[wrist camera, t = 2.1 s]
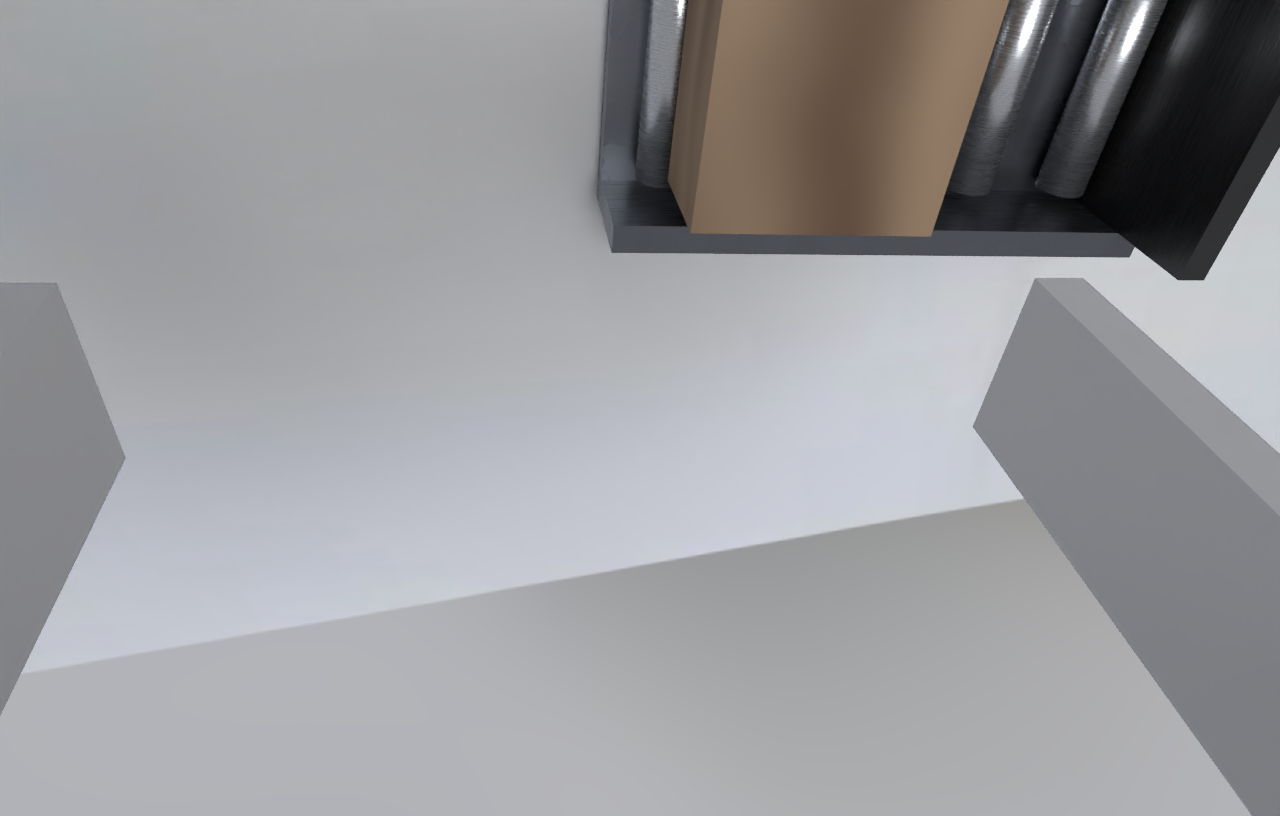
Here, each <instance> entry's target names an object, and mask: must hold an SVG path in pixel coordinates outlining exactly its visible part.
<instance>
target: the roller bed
mask: <svg viewBox="0 0 1280 816" xmlns="http://www.w3.org/2000/svg"><path fill="white" fill-rule="evenodd" d="M687 9H688V0H609V11H608V27H607V44H606V60H605V76H604V92H603V108H602V124H601V140H600V156H599V173H598V189H597V198H598V202H599V206H600V210H601V214H602V218H603V221H604V225H605V229H606V233H607V237H608V241H609V244H610V248H611V252H612V253H715V254H822V255H929V256H1036V257H1130V255H1131V253H1132V251H1133V249H1134V247H1136V248H1137V249H1139V250H1140V251H1141V252H1143V253H1144V254H1145V255H1146V256H1148V257H1149V258H1150V259H1152V260H1153V261H1154V262H1155V263H1157V264H1158V265H1159V266H1161V267H1162V268H1163V269H1164V270H1166V271H1167V272H1168V273H1170V274H1171V275H1172V276H1173V277H1175V278H1176V279H1177V280H1204V279H1205V277H1206V275H1207V274H1208V272H1209V270H1210V268H1211V267H1212V265H1213V263H1214V261H1215V260H1216V258H1217V256H1218V254H1219V252H1220V251H1221V249H1222V247H1223V245H1224V244H1225V242H1226V240H1227V238H1228V237H1229V235H1230V233H1231V231H1232V230H1233V228H1234V226H1235V224H1236V223H1237V221H1238V219H1239V217H1240V216H1241V214H1242V212H1243V210H1244V209H1245V207H1246V205H1247V203H1248V202H1249V200H1250V198H1251V196H1252V195H1253V193H1254V191H1255V189H1256V188H1257V186H1258V184H1259V182H1260V181H1261V179H1262V177H1263V175H1264V174H1265V172H1266V170H1267V168H1268V167H1269V165H1270V163H1271V161H1272V160H1273V158H1274V156H1275V154H1276V153H1277V151H1278V149H1279V147H1280V0H1009V3H1008V6H1007V9H1006V12H1005V15H1004V18H1003V21H1002V24H1001V27H1000V30H999V33H998V36H997V39H996V42H995V45H994V48H993V51H992V54H991V57H990V60H989V63H988V66H987V69H986V72H985V75H984V78H983V81H982V84H981V87H980V90H979V93H978V96H977V99H976V102H975V105H974V108H973V111H972V114H971V117H970V120H969V123H968V126H967V129H966V132H965V135H964V138H963V141H962V144H961V147H960V150H959V153H958V156H957V159H956V162H955V165H954V168H953V171H952V174H951V177H950V180H949V183H948V186H947V189H946V192H945V195H944V199H943V202H942V205H941V208H940V211H939V214H938V217H937V220H936V223H935V226H934V229H933V232H932V235H931V237H921V236H848V235H774V234H700V233H690V231H689V229H688V226H687V224H686V222H685V219H684V217H683V215H682V212H681V210H680V208H679V205H678V203H677V201H676V198H675V196H674V194H673V191H672V189H671V187H670V184H669V182H668V173H669V165H670V156H671V147H672V139H673V130H674V121H675V113H676V104H677V95H678V87H679V78H680V69H681V61H682V52H683V43H684V35H685V26H686V17H687Z"/></svg>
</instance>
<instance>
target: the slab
mask: <svg viewBox="0 0 1280 816" xmlns="http://www.w3.org/2000/svg"><path fill="white" fill-rule="evenodd" d="M1008 3H1009V0H688V9H687V17H686V26H685V35H684V43H683V52H682V61H681V69H680V78H679V87H678V95H677V104H676V113H675V121H674V130H673V139H672V147H671V156H670V165H669V173H668V182H669V184H670V187H671V189H672V191H673V194H674V196H675V198H676V201H677V203H678V205H679V208H680V210H681V212H682V215H683V217H684V219H685V222H686V224H687V226H688V229H689V231H690V233H700V234H774V235H848V236H921V237H931V235H932V232H933V229H934V226H935V223H936V220H937V217H938V214H939V211H940V208H941V205H942V202H943V199H944V195H945V192H946V189H947V186H948V183H949V180H950V177H951V174H952V171H953V168H954V165H955V162H956V159H957V156H958V153H959V150H960V147H961V144H962V141H963V138H964V135H965V132H966V129H967V126H968V123H969V120H970V117H971V114H972V111H973V108H974V105H975V102H976V99H977V96H978V93H979V90H980V87H981V84H982V81H983V78H984V75H985V72H986V69H987V66H988V63H989V60H990V57H991V54H992V51H993V48H994V45H995V42H996V39H997V36H998V33H999V30H1000V27H1001V24H1002V21H1003V18H1004V15H1005V12H1006V9H1007V6H1008Z"/></svg>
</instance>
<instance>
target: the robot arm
mask: <svg viewBox="0 0 1280 816" xmlns="http://www.w3.org/2000/svg"><path fill="white" fill-rule="evenodd" d="M973 428H974V429H975V430H976V432H977V433H978V435H979V436H980V437H981V439H982V440H983V442H984V443H985V444H986V446H987V447H988V449H989V450H990V451H991V453H992V454H993V456H994V457H995V458H996V460H997V461H998V463H999V464H1000V465H1001V467H1002V468H1003V469H1004V471H1005V472H1006V474H1007V475H1008V476H1009V478H1010V479H1011V481H1012V482H1013V483H1014V485H1015V486H1016V488H1017V489H1018V490H1019V492H1020V493H1021V495H1022V496H1023V497H1024V499H1025V500H1026V502H1027V503H1028V504H1029V506H1030V507H1031V508H1032V510H1033V511H1034V513H1035V514H1036V515H1037V517H1038V518H1039V519H1040V521H1041V522H1042V524H1043V525H1044V527H1045V528H1046V529H1047V530H1048V532H1049V534H1050V535H1051V536H1052V538H1053V539H1054V541H1055V542H1056V543H1057V545H1058V546H1059V547H1060V549H1061V550H1062V552H1063V553H1064V554H1065V556H1066V557H1067V559H1068V560H1069V561H1070V563H1071V564H1072V566H1073V567H1074V568H1075V570H1076V571H1077V572H1078V574H1079V575H1080V577H1081V578H1082V579H1083V581H1084V582H1085V584H1086V585H1087V586H1088V588H1089V589H1090V591H1091V592H1092V593H1093V595H1094V596H1095V598H1096V599H1097V600H1098V602H1099V603H1100V605H1101V606H1102V607H1103V609H1104V610H1105V611H1106V613H1107V614H1108V616H1109V617H1110V618H1111V620H1112V621H1113V623H1114V624H1115V625H1116V627H1117V628H1118V630H1119V631H1120V632H1121V634H1122V635H1123V636H1124V638H1125V639H1126V641H1127V642H1128V644H1129V645H1130V646H1131V648H1132V649H1133V651H1134V652H1135V653H1136V655H1137V656H1138V658H1139V659H1140V660H1141V662H1142V663H1143V664H1144V666H1145V667H1146V668H1147V670H1148V671H1149V673H1150V674H1151V676H1152V677H1153V678H1154V680H1155V681H1156V683H1157V684H1158V685H1159V687H1160V688H1161V689H1162V691H1163V692H1164V694H1165V695H1166V697H1167V698H1168V699H1169V701H1170V702H1171V703H1172V705H1173V706H1174V708H1175V709H1176V710H1177V712H1178V713H1179V715H1180V716H1181V717H1182V719H1183V720H1184V722H1185V723H1186V724H1187V726H1188V727H1189V728H1190V730H1191V731H1192V732H1193V734H1194V735H1195V737H1196V738H1197V740H1198V741H1199V742H1200V744H1201V745H1202V747H1203V748H1204V749H1205V751H1206V752H1207V754H1208V755H1209V756H1210V758H1211V759H1212V761H1213V762H1214V763H1215V765H1216V766H1217V767H1218V769H1219V770H1220V772H1221V773H1222V775H1223V776H1224V777H1225V779H1226V780H1227V781H1228V783H1229V784H1230V786H1231V787H1232V788H1233V790H1234V791H1235V793H1236V794H1237V795H1238V797H1239V798H1240V799H1241V801H1242V802H1243V804H1244V805H1245V807H1246V808H1247V809H1248V811H1249V812H1250V813H1251V815H1252V816H1280V454H1279V453H1278V452H1277V451H1276V450H1275V449H1274V448H1272V447H1271V446H1270V445H1269V444H1268V443H1267V442H1266V441H1265V440H1263V439H1262V438H1261V437H1260V436H1259V435H1258V434H1257V433H1256V432H1255V431H1253V430H1252V429H1251V428H1250V427H1249V426H1248V425H1247V424H1246V423H1244V422H1243V421H1242V420H1241V419H1240V418H1239V417H1238V416H1237V415H1236V414H1234V413H1233V412H1232V411H1231V410H1230V409H1229V408H1228V407H1227V406H1225V405H1224V404H1223V403H1222V402H1221V401H1220V400H1219V399H1218V398H1217V397H1215V396H1214V395H1213V394H1212V393H1211V392H1210V391H1209V390H1208V389H1206V388H1205V387H1204V386H1203V385H1202V384H1201V383H1200V382H1199V381H1198V380H1196V379H1195V378H1194V377H1193V376H1192V375H1191V374H1190V373H1189V372H1187V371H1186V370H1185V369H1184V368H1183V367H1182V366H1181V365H1180V364H1178V363H1177V362H1176V361H1175V360H1174V359H1173V358H1172V357H1171V356H1170V355H1168V354H1167V353H1166V352H1165V351H1164V350H1163V349H1162V348H1161V347H1159V346H1158V345H1157V344H1156V343H1155V342H1154V341H1153V340H1152V339H1151V338H1149V337H1148V336H1147V335H1146V334H1145V333H1144V332H1143V331H1142V330H1140V329H1139V328H1138V327H1137V326H1136V325H1135V324H1134V323H1133V322H1132V321H1130V320H1129V319H1128V318H1127V317H1126V316H1125V315H1124V314H1123V313H1121V312H1120V311H1119V310H1118V309H1117V308H1116V307H1115V306H1114V305H1113V304H1111V303H1110V302H1109V301H1108V300H1107V299H1106V298H1105V297H1104V296H1102V295H1101V294H1100V293H1099V292H1098V291H1097V290H1096V289H1095V288H1094V287H1092V286H1091V285H1090V284H1089V283H1088V282H1087V281H1086V280H1085V279H1083V278H1035V280H1034V282H1033V284H1032V287H1031V289H1030V292H1029V294H1028V296H1027V299H1026V301H1025V304H1024V306H1023V308H1022V311H1021V313H1020V315H1019V318H1018V320H1017V323H1016V325H1015V327H1014V330H1013V332H1012V334H1011V337H1010V339H1009V342H1008V344H1007V346H1006V349H1005V351H1004V354H1003V356H1002V358H1001V361H1000V363H999V365H998V368H997V370H996V373H995V375H994V377H993V380H992V382H991V384H990V387H989V389H988V392H987V394H986V396H985V399H984V401H983V404H982V406H981V408H980V411H979V413H978V415H977V418H976V420H975V423H974V425H973ZM124 460H125V455H124V453H123V450H122V448H121V445H120V442H119V440H118V437H117V435H116V432H115V430H114V427H113V425H112V422H111V420H110V417H109V415H108V412H107V410H106V407H105V405H104V402H103V400H102V397H101V394H100V392H99V389H98V387H97V384H96V382H95V379H94V377H93V374H92V372H91V369H90V367H89V364H88V362H87V359H86V357H85V354H84V351H83V349H82V346H81V344H80V341H79V339H78V336H77V334H76V331H75V329H74V326H73V324H72V321H71V319H70V316H69V314H68V311H67V308H66V306H65V303H64V301H63V298H62V296H61V293H60V291H59V288H58V286H57V283H0V715H1V713H2V711H3V709H4V707H5V704H6V703H7V701H8V698H9V696H10V694H11V692H12V690H13V688H14V686H15V684H16V682H17V680H18V678H19V676H20V674H21V672H22V670H23V668H24V666H25V664H26V662H27V659H28V657H29V655H30V653H31V651H32V649H33V647H34V645H35V643H36V641H37V639H38V637H39V635H40V633H41V631H42V629H43V627H44V625H45V622H46V620H47V618H48V616H49V614H50V612H51V610H52V608H53V606H54V604H55V602H56V600H57V598H58V596H59V594H60V592H61V590H62V588H63V585H64V583H65V581H66V579H67V577H68V575H69V573H70V571H71V569H72V567H73V565H74V563H75V561H76V559H77V557H78V555H79V553H80V551H81V548H82V546H83V544H84V542H85V540H86V538H87V536H88V534H89V532H90V530H91V528H92V526H93V524H94V522H95V520H96V518H97V516H98V514H99V511H100V509H101V507H102V505H103V503H104V501H105V499H106V497H107V495H108V493H109V491H110V489H111V487H112V485H113V483H114V481H115V479H116V477H117V474H118V472H119V470H120V468H121V466H122V464H123V462H124Z"/></svg>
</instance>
